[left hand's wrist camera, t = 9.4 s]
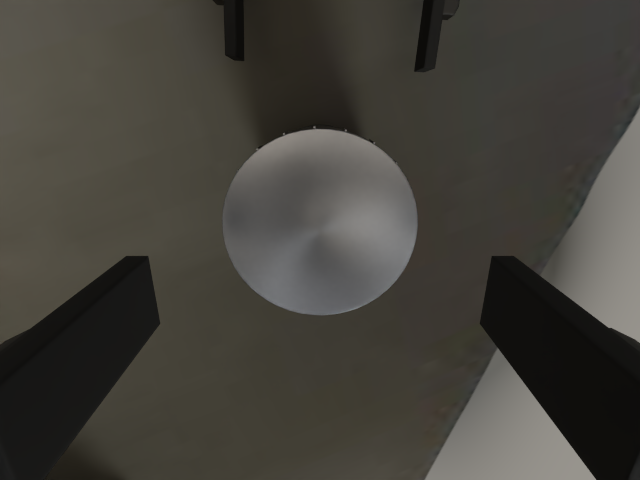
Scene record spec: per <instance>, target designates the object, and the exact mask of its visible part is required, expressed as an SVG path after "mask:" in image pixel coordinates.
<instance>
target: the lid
mask: <svg viewBox="0 0 640 480" xmlns="http://www.w3.org/2000/svg"><path fill="white" fill-rule="evenodd" d="M256 150H257V151H256V152H254V153H253V154H252V155H251V156H250V157H249V158H248V159H247V160H246V161H245V162H244V163H243V165H242V166H241V168H240V169H238V170H237V173H236V175H235V177H234V178H233V180H232V182H231V184H230V186H229V189H228V192H227V194H226V197H225V202H224V206H223V215H222V228H223V237H224V242H225V246H226V249H227V252H228V255H229V257H230V259H231V261H232V263H233V265H234V267H235V269H236V270H237V272H238V273H239V275H240V276H241V277H242V279H243V280H244V281H245V282H246V283H247V284H248V285H249V286H250V287H251V288H252V289H253V290H254V291H255V292H256V293H257V294H259V295H260V296H262V297H263V298H265V299H266V300H267V301H269V302H271V303H273V304H275V305H277V306H279V307H282V308H284V309H287V310H290V311H294V312H298V313H303V314H310V315H329V314H337V313H342V312H347V311H350V310H353V309H356V308H358V307H361V306H363V305H365V304H367V303H369V302H371V301H372V300H374V299H375V298H377V297H378V296H380V295H381V294H382V293H384V292H385V291H386V290H387V289H388V288H389V287H390V286H391V285H392V284H393V283H394V282H395V281H396V280H397V278H398V277H399V276H400V275H401V273H402V272H403V270H404V268H405V267H406V265H407V263H408V261H409V259H410V257H411V254H412V252H413V249H414V245H415V242H416V236H417V229H418V214H417V207H416V202H415V198H414V195H413V191H412V188H411V187H410V184H409V182H408V180H407V178H406V177H405V175H404V173H403V172H402V170H401V169H400V167H399V166H398V165H397V164H398V163H397V162H396V161H394V160H393V159H392V158H391V157H390V156H389V155H388V154H386V153H385V152H384V151H383V150H382V149H381V148H379V147H378V146H376V145H375V142H373V141H372V140H370V139H369V141H368V140H367V139H365V138H363V137H361V136H359V135H357V134H355V133H353V132H349V131H347V130H346V129H345V128H343V129H339V128H333V127H318V126H316V125H314V126H313V127H307V128H301V129H297V130H293V131H290V132H288V131H286V132H284V133H283V135H280V136H278V137H277V138H275V139H273V140H271V141H270V142H268V143H267V144H265V145H264V146H263V145H262V146H260V147H258V148H257V149H256Z"/></svg>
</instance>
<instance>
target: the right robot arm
mask: <svg viewBox="0 0 640 480" xmlns="http://www.w3.org/2000/svg"><path fill="white" fill-rule="evenodd" d="M213 1H214V2H215V3H216V4H217V5H224V29H225V55H226V56H228V57H229V58H231V59H233V60H238V61H244V7H243V0H213ZM459 1H460V0H424V2H423V10H422V17H421V25H420V32H419V40H418V47H417V55H416V62H415V70H414V72H426V71H429V70H431V69H434V68H435V64H436V57H437V50H438V44H439V37H440V31H441V24H442V20H448V19H449V18H451V17H452V16H454V15H455V13H456V11H457V9H458V7H459Z"/></svg>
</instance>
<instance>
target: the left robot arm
mask: <svg viewBox="0 0 640 480" xmlns="http://www.w3.org/2000/svg"><path fill="white" fill-rule="evenodd" d="M159 324H160V320H159V314H158V309H157V303H156V298H155V292H154V286H153V281H152V275H151V269H150V264H149V258H148V256H126V257H124V258H123V259H122V260H121V261H119V262H118V263H117V264H115V265H114V266H113V267H111V268H110V269H109V270H107V271H106V272H105V273H103V274H102V275H101V276H99V277H98V278H97V279H95V280H94V281H93V282H91V283H90V284H89V285H88V286H86V287H85V288H84V289H82V290H81V291H80V292H78V293H77V294H76V295H74V296H73V297H72V298H70V299H69V300H68V301H66V302H65V303H64V304H62V305H61V306H60V307H58V308H57V309H56V310H55V311H53V312H52V313H51V314H49V315H48V316H47V317H45V318H44V319H43V320H41V321H40V322H39V323H37V324H36V325H35V326H33V327H32V328H31V329H29V330H27V331H25V332H23V333H21V334H19V335H17V336H15V337H13V338H11V339H9V340H7V341H5V342H4V343H2V344H1V345H0V480H44V478H45V477H46V476H47V474H48V473H49V472H50V470H51V469H52V468H53V466H54V465H55V464H56V462H57V461H58V460H59V458H60V457H61V456H62V454H63V453H64V452H65V450H66V449H67V448H68V446H69V445H70V444H71V442H72V441H73V440H74V438H75V437H76V436H77V434H78V433H79V432H80V430H81V429H82V428H83V426H84V425H85V424H86V422H87V421H88V420H89V418H90V417H91V416H92V414H93V413H94V412H95V410H96V409H97V407H98V406H99V405H100V403H101V402H102V401H103V399H104V398H105V397H106V395H107V394H108V393H109V391H110V390H111V389H112V387H113V386H114V385H115V383H116V382H117V381H118V379H119V378H120V377H121V375H122V374H123V373H124V371H125V370H126V369H127V367H128V366H129V365H130V363H131V362H132V361H133V359H134V358H135V357H136V355H137V354H138V353H139V351H140V350H141V349H142V347H143V346H144V345H145V343H146V342H147V341H148V339H149V338H150V336H151V335H152V334H153V332H154V331H155V330H156V328H157V327H158V326H159ZM480 324H481V326H482V327H483V328H484V330H485V331H486V332H487V334H488V335H489V336H490V338H491V339H492V341H493V342H494V343H495V345H496V346H497V347H498V349H499V350H500V351H501V353H502V354H503V355H504V357H505V358H506V359H507V361H508V362H509V363H510V365H511V366H512V367H513V369H514V370H515V371H516V373H517V374H518V375H519V377H520V378H521V379H522V381H523V382H524V383H525V385H526V386H527V387H528V389H529V390H530V391H531V393H532V394H533V395H534V397H535V398H536V399H537V401H538V402H539V403H540V405H541V406H542V407H543V409H544V410H545V411H546V413H547V414H548V416H549V417H550V418H551V420H552V421H553V422H554V424H555V425H556V426H557V428H558V429H559V430H560V432H561V433H562V434H563V436H564V437H565V438H566V440H567V441H568V442H569V444H570V445H571V446H572V448H573V449H574V450H575V452H576V453H577V454H578V456H579V457H580V458H581V460H582V461H583V462H584V464H585V465H586V466H587V468H588V469H589V470H590V472H591V473H592V474H593V476H594V477H595V478H596V480H640V343H639V342H637V341H636V340H635V339H633V338H631V337H629V336H627V335H624V334H622V333H620V332H618V331H616V330H614V329H612V328H608V327H607V326H605V325H604V324H603V323H601V322H600V321H599V320H597V319H596V318H595V317H593V316H592V315H591V314H589V313H588V312H587V311H585V310H584V309H583V308H582V307H580V306H579V305H578V304H576V303H575V302H574V301H572V300H571V299H570V298H568V297H567V296H566V295H564V294H563V293H562V292H560V291H559V290H558V289H556V288H555V287H554V286H552V285H551V284H550V283H549V282H547V281H546V280H544V279H543V278H542V277H541V276H539V275H538V274H537V273H535V272H534V271H533V270H531V269H530V268H529V267H527V266H526V265H525V264H523V263H522V262H521V261H519V260H518V259H517V258H516V257H514V256H492V258H491V264H490V269H489V275H488V281H487V286H486V292H485V298H484V303H483V309H482V314H481V320H480Z"/></svg>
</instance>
